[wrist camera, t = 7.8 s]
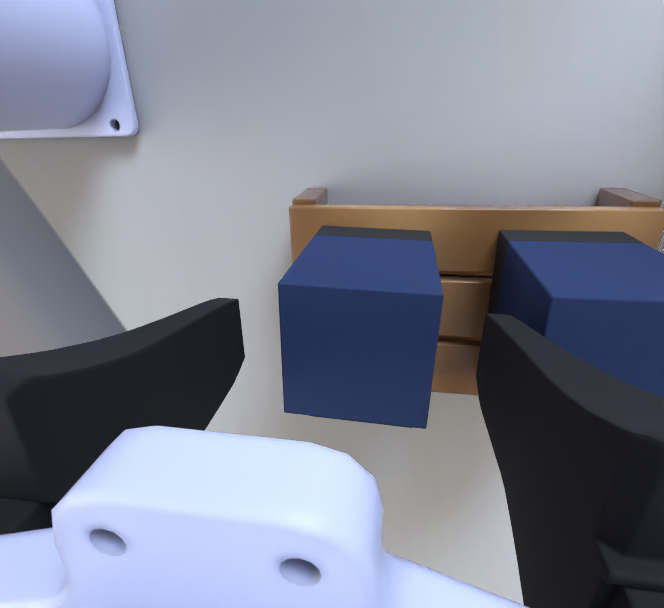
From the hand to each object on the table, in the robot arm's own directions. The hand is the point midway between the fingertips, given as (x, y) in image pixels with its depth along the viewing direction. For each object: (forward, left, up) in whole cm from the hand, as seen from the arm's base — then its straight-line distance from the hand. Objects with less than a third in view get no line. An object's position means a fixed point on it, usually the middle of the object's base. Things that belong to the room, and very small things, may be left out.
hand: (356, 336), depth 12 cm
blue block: (0, -2, -6) cm, 6 cm away
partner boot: (+7, -2, -6) cm, 9 cm away
